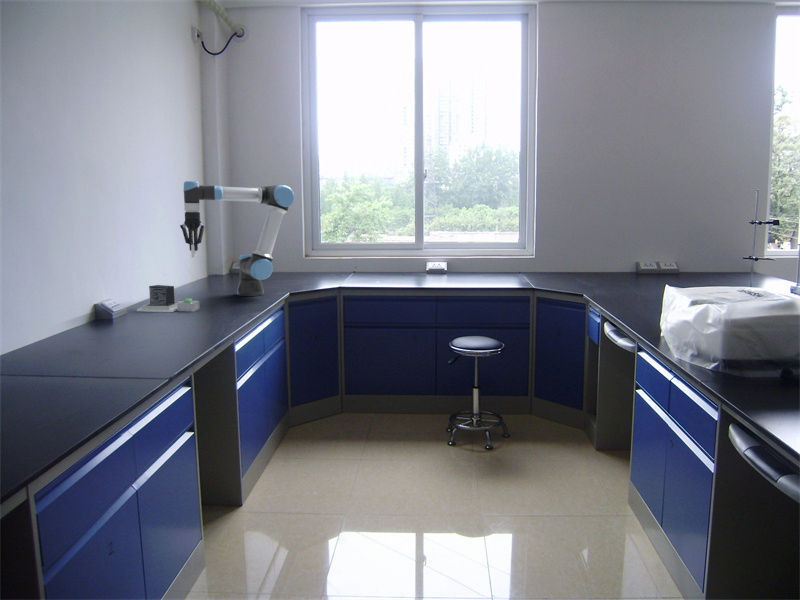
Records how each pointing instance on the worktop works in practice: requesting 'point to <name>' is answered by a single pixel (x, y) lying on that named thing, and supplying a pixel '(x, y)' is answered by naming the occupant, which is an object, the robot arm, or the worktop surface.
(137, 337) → the worktop surface
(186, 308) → the console
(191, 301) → the button
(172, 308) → the plate
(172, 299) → the small box
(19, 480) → the worktop surface
